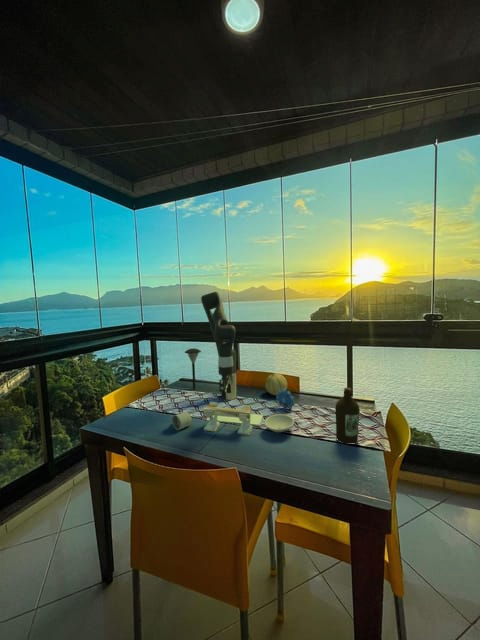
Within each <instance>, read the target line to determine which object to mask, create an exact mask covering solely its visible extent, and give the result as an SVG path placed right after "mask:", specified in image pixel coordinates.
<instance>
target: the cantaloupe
mask: <svg viewBox="0 0 480 640" xmlns="http://www.w3.org/2000/svg"><path fill="white" fill-rule="evenodd" d="M287 388H288V382H287V379H286V377H284V375H282V374H280V373H279V372H277V373H272V374H270V375H269V376H267V377H266V380H265V389H266V391H267V392H268V393H269V394H270V395H271V396H272V395H273V396H277V395H278V393H277V392H278V391H279V390H280V391H281V390H282V389H285V391H287Z"/></svg>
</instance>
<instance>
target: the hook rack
mask: <svg viewBox="0 0 480 640" xmlns="http://www.w3.org/2000/svg"><path fill="white" fill-rule="evenodd" d="M218 404H219V403H218V402H216V401H210V402H209V406H208V407H218V408H219V405H218ZM241 410H251V404H242V405H241ZM251 411H252V410H251ZM204 416H205V418H206V419H207V418H210V421H208V422H207V423H206V425H205V426H204V428H203V431H206V432H212V433H213V432H216V430H217V429H218V428H219V426H220V425H221V422H218V416H216V415H213V411H209V410H205V414H204ZM239 419H240V421H242V424H240V426H239V429H238V430H237V435H242V436H248V435H249V436H250V434H251V433H252V430H253V426H254V425H251V417H250V419H247V414H242V413H239ZM250 432H251V433H250Z"/></svg>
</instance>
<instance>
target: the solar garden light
mask: <svg viewBox="0 0 480 640" xmlns="http://www.w3.org/2000/svg"><path fill="white" fill-rule="evenodd" d="M201 352H202V351H201V350H200V349H198V348H196V347H194V348H188V349H187V350H185V351H184V353H185V354H187V355H188V357H189V360H190V362H191V369H192V370H191V371H192V372H191V373H192V390H193V391H196V370H195V369H196V366H195V363H196V361H197V357H198V355H199V354H200V353H201Z"/></svg>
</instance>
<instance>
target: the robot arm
mask: <svg viewBox="0 0 480 640" xmlns="http://www.w3.org/2000/svg"><path fill="white" fill-rule="evenodd" d="M200 298H201V299H200V301H201V304H202V306H203V309H204V312H205V314H206V317H207V319H208V323H209V327H210V331H211V334H212V337H213V339H214V342H215V346H216V350H217V355H218V359H217V363H218V364H217V368H218V371H217V372H218V375H220V376H221V379H219V386H218V387H219V391H218V392H220V394H221V400H226V401H232V400H235V399H237V351H236V349H234V348H233V346H234V342H235V338H236V327H235V326H234V325H232V324H229V320H228V319H227V316H226V313H225V308H224V304H223V301H222V298H221V295H220V294H219V293H218V292H216V291H213V292H210V293H207V294H204V295H202V296H201V297H200ZM211 310H214V311H213V312H212V311H211Z"/></svg>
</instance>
